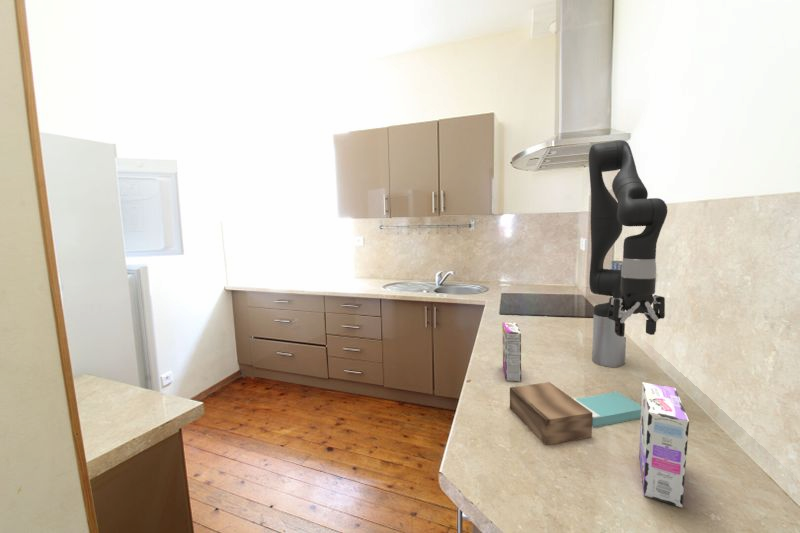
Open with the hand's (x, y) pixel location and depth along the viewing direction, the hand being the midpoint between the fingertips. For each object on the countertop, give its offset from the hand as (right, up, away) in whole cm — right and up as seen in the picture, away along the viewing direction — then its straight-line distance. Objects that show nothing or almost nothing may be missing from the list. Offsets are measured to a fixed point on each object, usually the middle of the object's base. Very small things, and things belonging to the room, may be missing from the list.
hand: (635, 334), depth 91 cm
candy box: (-13, -23, -25) cm, 36 cm away
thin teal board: (-9, -21, -2) cm, 23 cm away
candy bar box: (-26, -18, +22) cm, 39 cm away
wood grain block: (-25, -21, -5) cm, 33 cm away
